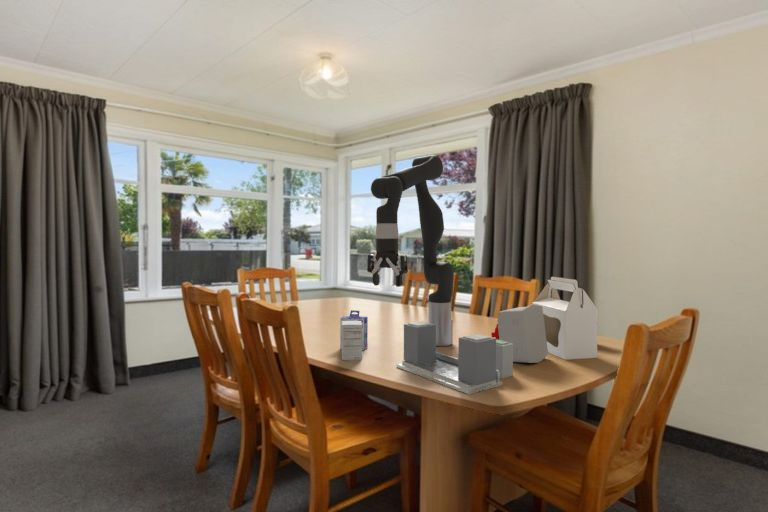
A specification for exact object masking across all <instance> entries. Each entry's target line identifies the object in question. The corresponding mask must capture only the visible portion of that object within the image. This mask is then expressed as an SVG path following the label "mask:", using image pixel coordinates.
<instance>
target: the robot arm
mask: <svg viewBox="0 0 768 512" xmlns="http://www.w3.org/2000/svg"><path fill="white" fill-rule="evenodd" d="M411 163H412V164H411V166H409V167H406V168H405V167H404V168H403V169H401V170H398V171H395V172H394V173H391V174H386V175H383V176H382V175H381V176H379V177H376V178H375V179H373V181H372V182H371V184H370V191H371V195H372V196H373V197H374V198H376V199H379V200H386V199H387V201H386V202H385V203H384V204H383V205H380V206H378V207H377V208H376V212H375V213H376V214H375V215H376V222H375V223H376V227H375V252H376V253H375V254H368V255H367V270H366V271H367V272H368V273H369V274H372V284H373V285H374V286H379V284H380V274H379V273H380V271H381V270H382V269H385V268H387V269H392V271H394V273H395V286H396V288H399V287H401V286H402V284H403V275H405V274H408V272H409V271H408V256H407V255H406V254H403V255H399V225H398V211H399V207H400V203H401V199H402V195H403V192H404V191H407V190H408V189H410V188H413V187H414V188H415V193H416V197H417V204H418V205H417V206H418V215H419V224H420V225H419V226H420V231H421V238H422V241H421V242H422V248H423V249H422V250H423V252H422V253H423V275H424V279H425V281H426V282H427V283H428V284H430V285H437V290H436V291H434V292H431V293H429V294H428V298H427V303H428V304H427V307H428V309H427V311H428V313H427V315H428V316H427V323H432V324H434V325H436V347H446V346H447V347H448V346H450V345H452V344H453V343H454V341H453V340H454V339H453V338H454V337H453V336H454V333H453V332H454V331H453V330H454V329H453V328H454V325H453V324H454V321H453V319H452V297H453V294H454V293H453V292H454V279H455V271H454V267H453V265H452V264H451V263H450V262H448V261H447V262H444V261H438V259H437V258H438V256H437V250H438V246H439V243H440V241H441V239H442V236H443V234H444V232H445V231H444V229H445V223H444V215H443V211H442V209H441V207H440V206H439V205H438V203H437V201H436V200H435V199H434V198H433V197H432V194H431V193H430V191H429V188H428V183H427V181H431V180H436V179H438V178H440V177H441V176H442V175H443V171H444V164H443V160H442V159H441V158H440V157H439V156H438V155H435V154H430V155H425V156H418V157H415V158H414V159H413V160H412V162H411ZM375 262H376V263H375ZM398 262H400V264H399V263H398Z"/></svg>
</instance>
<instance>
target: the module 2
mask: <svg viewBox="0 0 768 512" xmlns="http://www.w3.org/2000/svg"><path fill="white" fill-rule="evenodd" d="M457 355H458V356H457V358H458V379H459V380H462V381H465V382H468V383H471V384H474V385H476V386H477V385H480V384H484V383H488V382H491V381H495V380H496V338H495V337H492V336H489V335H483V334H479V333H476V334H470V335H465V336H464V335H463V336H460V337H458V354H457Z"/></svg>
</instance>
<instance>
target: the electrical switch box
mask: <svg viewBox="0 0 768 512" xmlns="http://www.w3.org/2000/svg"><path fill="white" fill-rule="evenodd" d="M496 321H497V322H496V326H495V329H494V332H491V338H496V339H497V340H501V341H506V342H509V343H512V344H513V363H524V364H525V363H529V364H534V363H535V364H536V363H537V364H538V363H541V362H542V361H543V360H544V359H546V357H548V356H549V353H548V348H547V340H546V332H545V324H544V316H543V309H542V306H538V305H532V304H529V305H528V306H520V307H519V306H518V307H515V308H514V307H513V308H510V309H505V310H500V311H499V312H498V316H497V320H496Z"/></svg>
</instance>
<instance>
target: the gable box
mask: <svg viewBox="0 0 768 512" xmlns="http://www.w3.org/2000/svg"><path fill="white" fill-rule="evenodd" d="M547 282H548V283H547V284H546V285H545V286H544V287H543V288H542V290H541V291H540V292H539V294H538V295H537V296H536V298H534V301H532V304H531V305H538V306H542V309H543V316H544V324H545V332H546V340H547V348H548V354H551V355H553V356H556V357H558V358H559V359H563V360H565V361H566V360H567V361H568V360H585V359H586V360H587V359H597V358H598V335H599V334H598V331H599V330H598V329H599V328H598V326H599V322H598V321H599V310H598V308H597V306H595V304H594V303H593V301H592V300H591V298H590V297H589V295H588V294H587V292H586V291H585V290H584V289H583V288H580V287H579V286H580V284H579V280H577V279H574V278H566V277H560V276H559V277H558V276H551V277H550V279H547ZM558 290H559V291H565V292H572V295H571V297H570V299H569V301H568V300H564V299H561V298H560V294H559V292H558Z"/></svg>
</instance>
